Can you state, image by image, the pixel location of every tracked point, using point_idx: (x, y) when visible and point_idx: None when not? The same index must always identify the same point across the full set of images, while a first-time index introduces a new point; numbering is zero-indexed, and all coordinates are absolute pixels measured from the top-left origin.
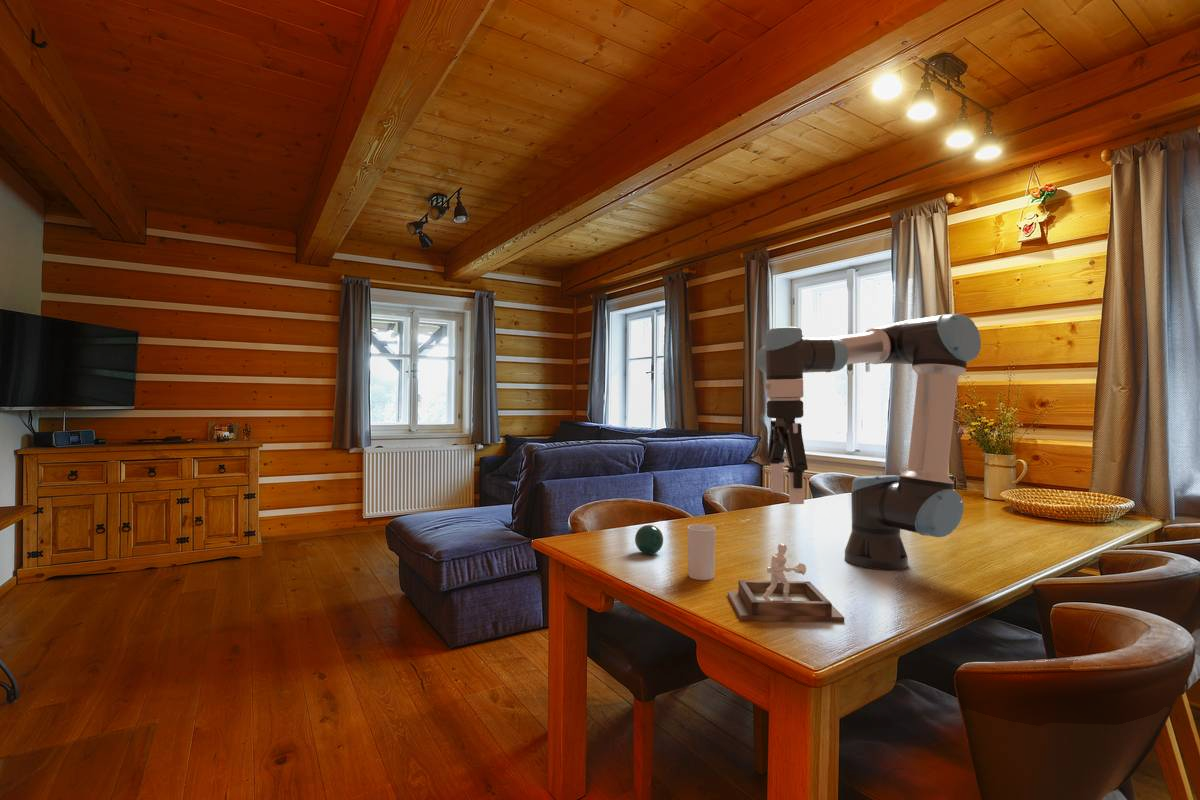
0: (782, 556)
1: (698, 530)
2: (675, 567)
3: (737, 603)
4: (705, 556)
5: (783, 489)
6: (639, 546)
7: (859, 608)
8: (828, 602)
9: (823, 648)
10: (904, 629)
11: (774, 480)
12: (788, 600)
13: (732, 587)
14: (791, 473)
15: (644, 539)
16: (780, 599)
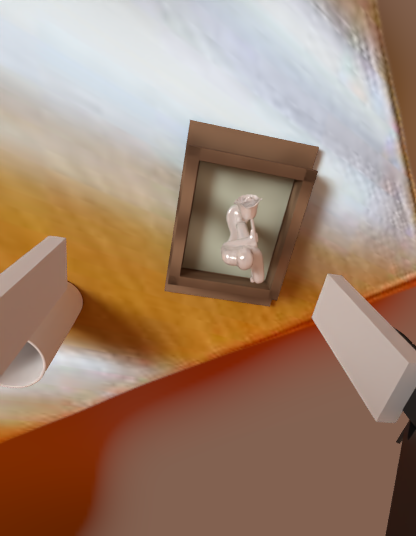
0: (257, 260)
1: (43, 374)
2: None
3: (223, 295)
4: (68, 324)
5: (61, 244)
6: None
7: (261, 68)
8: (310, 173)
9: (383, 233)
10: (374, 44)
11: (43, 307)
12: (242, 218)
13: (122, 265)
14: (395, 412)
15: None
16: (231, 227)
